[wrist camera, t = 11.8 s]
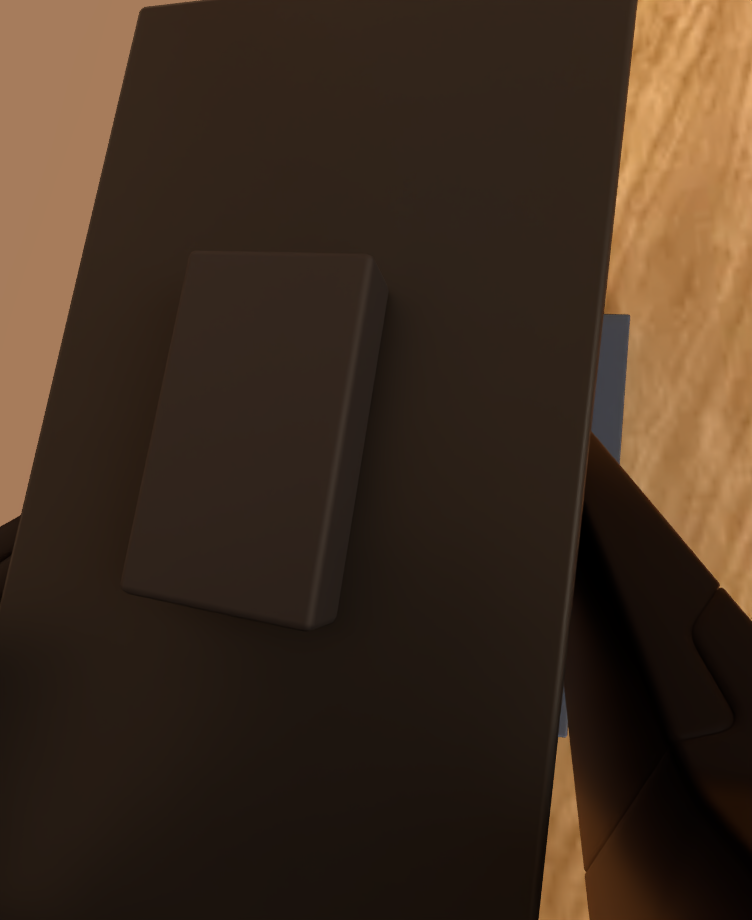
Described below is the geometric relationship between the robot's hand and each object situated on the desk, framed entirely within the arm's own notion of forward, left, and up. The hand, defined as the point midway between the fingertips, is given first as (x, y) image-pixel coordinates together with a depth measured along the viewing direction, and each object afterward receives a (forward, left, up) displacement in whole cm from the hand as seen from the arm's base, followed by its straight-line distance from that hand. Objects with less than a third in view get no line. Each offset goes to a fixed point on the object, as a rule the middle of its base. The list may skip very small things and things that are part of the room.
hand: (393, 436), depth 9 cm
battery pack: (-1, -2, -8) cm, 8 cm away
